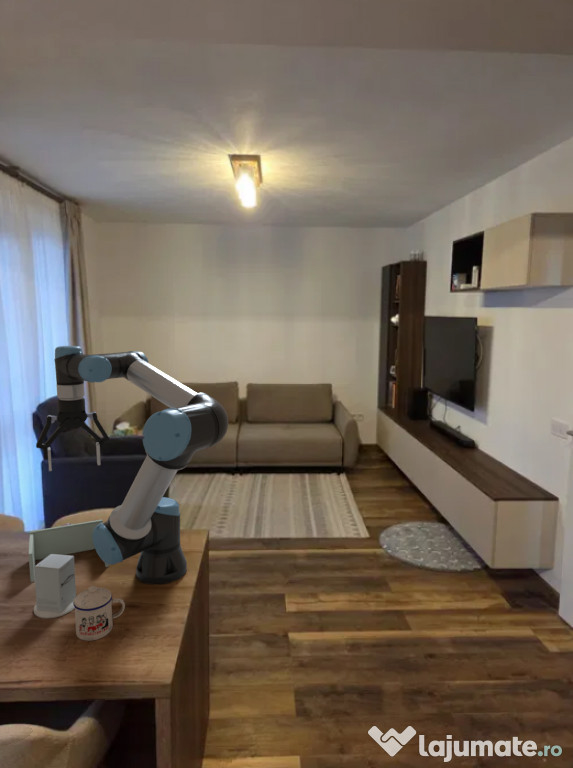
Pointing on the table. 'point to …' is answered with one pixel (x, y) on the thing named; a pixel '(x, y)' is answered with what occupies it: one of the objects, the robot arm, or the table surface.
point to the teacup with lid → (95, 613)
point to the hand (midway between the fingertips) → (75, 466)
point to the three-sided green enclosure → (60, 541)
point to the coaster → (53, 614)
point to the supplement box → (55, 583)
